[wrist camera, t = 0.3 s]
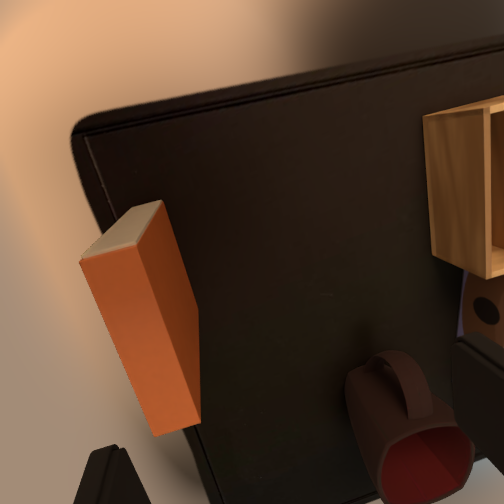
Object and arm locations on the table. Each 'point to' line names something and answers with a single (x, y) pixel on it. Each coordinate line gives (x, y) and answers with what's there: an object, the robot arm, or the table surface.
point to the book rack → (467, 185)
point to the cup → (406, 432)
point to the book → (149, 314)
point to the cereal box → (481, 307)
